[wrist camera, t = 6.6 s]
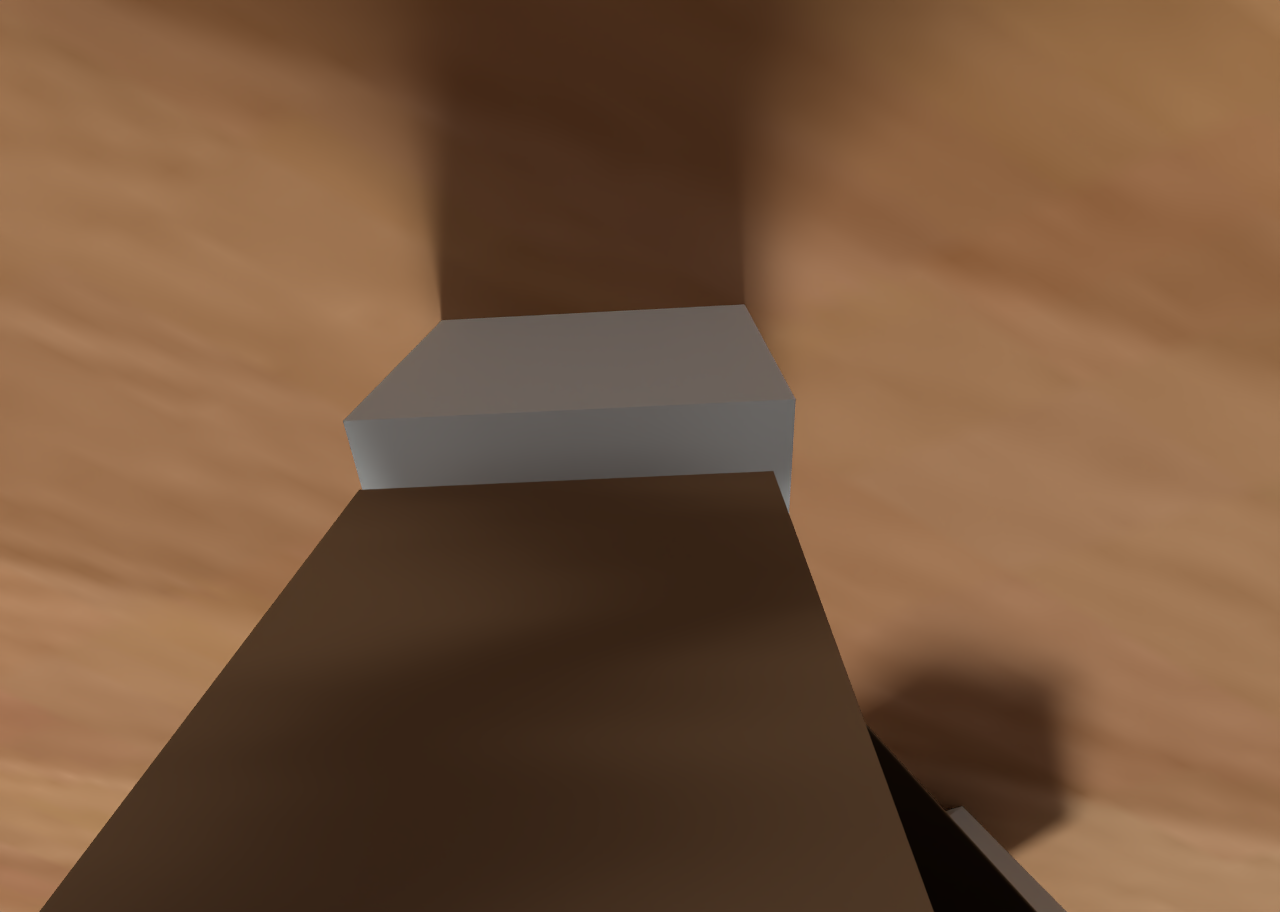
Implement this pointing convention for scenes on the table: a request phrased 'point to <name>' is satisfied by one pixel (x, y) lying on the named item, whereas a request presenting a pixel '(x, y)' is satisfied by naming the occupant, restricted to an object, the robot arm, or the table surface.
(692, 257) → the table surface
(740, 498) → the brown cube
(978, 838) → the die
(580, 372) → the grey block
